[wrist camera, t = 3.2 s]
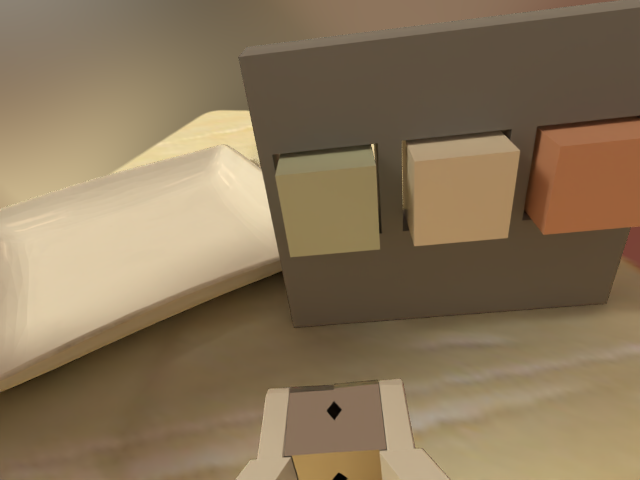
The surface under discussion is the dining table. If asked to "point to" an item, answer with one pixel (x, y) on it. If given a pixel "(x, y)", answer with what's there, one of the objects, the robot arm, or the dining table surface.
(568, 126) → the key terracotta
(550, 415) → the dining table surface
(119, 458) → the dining table surface
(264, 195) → the square plate
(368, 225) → the key sage
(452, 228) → the key ivory
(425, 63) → the keyguard
